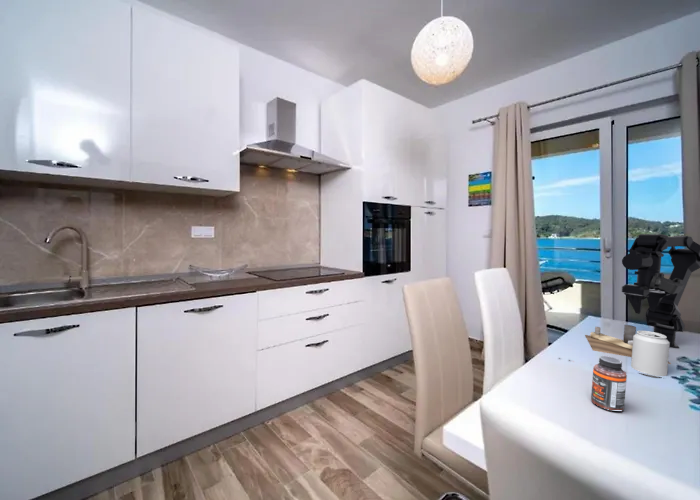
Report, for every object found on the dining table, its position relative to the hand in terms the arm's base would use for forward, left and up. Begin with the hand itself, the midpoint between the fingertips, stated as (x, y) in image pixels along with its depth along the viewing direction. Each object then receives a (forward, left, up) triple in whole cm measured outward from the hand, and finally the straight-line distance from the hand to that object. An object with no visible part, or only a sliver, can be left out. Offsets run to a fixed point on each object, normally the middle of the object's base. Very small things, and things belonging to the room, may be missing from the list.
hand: (645, 312), depth 108 cm
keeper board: (+8, -7, -13) cm, 17 cm away
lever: (+5, -8, -12) cm, 15 cm away
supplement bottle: (+56, -19, -13) cm, 61 cm away
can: (+27, -5, -13) cm, 30 cm away
